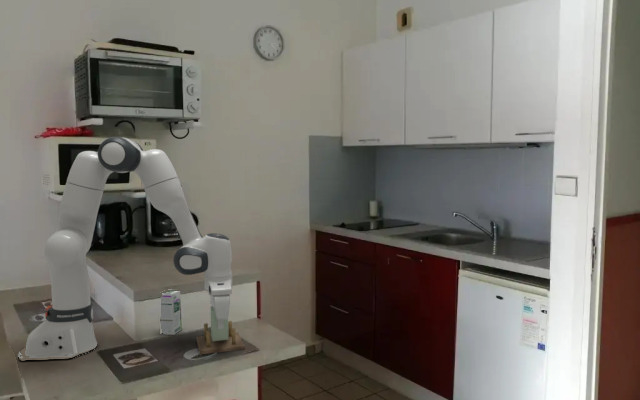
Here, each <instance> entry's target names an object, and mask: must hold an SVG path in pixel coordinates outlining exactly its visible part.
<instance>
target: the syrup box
mask: <svg viewBox="0 0 640 400" xmlns="http://www.w3.org/2000/svg"><path fill="white" fill-rule="evenodd" d="M160 323H161V329H162V333H163V334H162V335H169V336H174V335H175V336H176V334H178V333H179V332H180V331H182V330H181V329H183V326H182V306H181V290H180V291H170V292H166V293H162V297H161V317H160Z"/></svg>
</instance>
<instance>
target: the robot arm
mask: <svg viewBox="0 0 640 400" xmlns="http://www.w3.org/2000/svg"><path fill="white" fill-rule="evenodd" d="M131 172H133V173H135V174H136V175H137V176H138V178H139V180H140V181H141V184H142V186H143V190H144V191H145V194H146V197H147V199H148V200H149V202H150V204H151V205H152V206H153V208H154V209H156V210H157V211H159V212H162V213H163V214H165V215H166V216H168V217H169V218H170V219H171V221H173V223H174V224H175V227H176V230H177V232H178V234H179V237H180V239H181V241H182V246H181V247H180V248H179V249H178V250H177V251H175V254H174V256H173V265H174V268H175V269H176V271H178V273H180V274H182V275H185V276H188V275H189V276H192V275H195V274H201V273H203V274H204V277H203V278H204V291H206V292H208V295H209V297H210V298H209V299H210V305H211V306H213V309H214V313H215V316H216V319H217V327H218V329H223V323H224V320H225V319H228V320H229V317H230V305H231V295H232V294H233V271H232V267H231V266H232V263H233V254H232V252H233V251H232V245H231V240H230V239H229V237H228V236H226V235H224V234H223V233H222V234H221V233H214V232H213V233H211V232H210V233H206V235H204V236H202V234H201V232H200V230H199V228H198V226H197V223H196V221H195V219H194V217H193V214H192V213H191V210H190V208H189V206H188V202H187V199H186V197H185V194H184V190H183V188H182V187H183V186H182V184H181V181H180V178H179V177H178V173H177V172H176V169H175V167H174V165H173V163H172V161H171V160H170V158H169V157H168V155H167V153H166V152H165V151H164V150H162V149H160V148H159V149H158V148H157V149H156V148H151V149H147V150H144V149H143V148H142V146H141V145H140V144H139V143H138V142H137V141H135V140H132V139H131V138H127V137H120V136H111V137H108V138H106V139H105V140H104V141H102V142H101V143H100V145H99V146H98V149H97V151H94V150H84V151H81V152H79V153H78V154H77V156H76V157H75V160H74V161H73V163H72V165H71V167H70V169H69V173H68V176H67V178H66V183H65V185H64V189H63V193H62V196H61V200H60V204H59V214H58V221H57V222H58V223H57V227H56V230H55V232H54V233H53V234H52V235H51V234H50V236H49V237H48V239H47V240H46V242H45V245H44V257H45V258H46V264H47V269H48V274H49V279H50V285H51V286H50V289H51V305H48V306H47V307H46V308H45V310H44V311H45V313H44V317H45V320H44V321H42V323H40V324H39V325H38V326H37V327H35V328H34V329H33V330H31V331H30V333H29V334H28V336H27V339H26V343H25V344H26V345H25V346H26V351H25V355H26V356H30V357H29V358H47V357H72V356H74V355H76V354H78V353H82V352H85V351H88V350H91V349H93V348H95V347H96V346H97V344H98V342H97V339H96V335H95V331H94V325H93V319H94V311H93V309H94V308H93V303H92V302H91V283H90V276H89V271H88V264H87V253H88V252H89V251H90V248H91V246H92V242H93V237H94V232H95V227H96V223H97V217H98V213H99V209H100V206H101V202H102V199H103V193H104V190H105V187H106V183H107V180H108V179H109V176H110V175H111V174H112V173H119V174H125V173H131ZM211 306H210V307H211ZM20 355H22V354H21V353H20V351H19V352H18V355H17V358H18V357H19V358H21V359H22V358H23V356H21V357H20ZM65 355H67V356H65Z"/></svg>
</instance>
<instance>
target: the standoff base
mask: <svg viewBox="0 0 640 400" xmlns="http://www.w3.org/2000/svg"><path fill="white" fill-rule="evenodd" d="M195 340H196V345H197V349H198V353H199V355H207V354H214V353H222V352H223V353H224V352H233V351H241V350H245V349H246V346H245V344H244V341H243V340H242V338H241V335H240V333H239V332H236V328H234V327H233V321H231V320H228V340H219V341H212V337H211V330H209V324H208V323H204V324H203V335H201V336H196V339H195Z"/></svg>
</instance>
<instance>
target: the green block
mask: <svg viewBox="0 0 640 400" xmlns="http://www.w3.org/2000/svg"><path fill="white" fill-rule="evenodd" d="M228 322H229V318H228V319H225V320H224V323H223V329H218V327H217V319H216V316H215V313H214V309H213V306H210V335H211V337H212V341H219V340H228V334H229V329H228Z"/></svg>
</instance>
